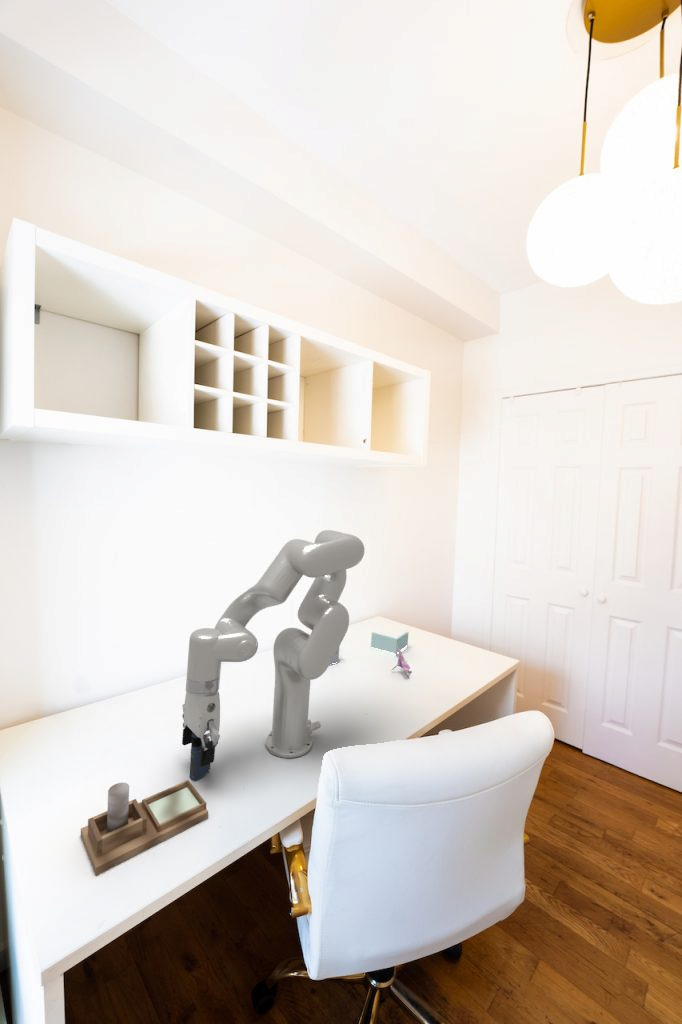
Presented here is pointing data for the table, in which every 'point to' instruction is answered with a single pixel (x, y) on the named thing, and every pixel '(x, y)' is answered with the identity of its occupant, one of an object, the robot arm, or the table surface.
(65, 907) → the table surface
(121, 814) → the holder
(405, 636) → the right angle wall
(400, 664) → the lily
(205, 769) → the vaping device
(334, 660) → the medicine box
